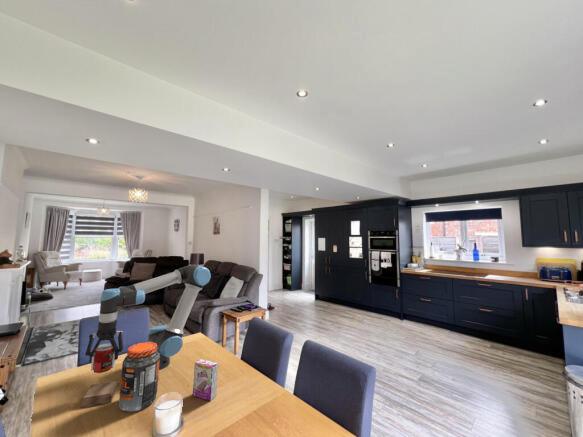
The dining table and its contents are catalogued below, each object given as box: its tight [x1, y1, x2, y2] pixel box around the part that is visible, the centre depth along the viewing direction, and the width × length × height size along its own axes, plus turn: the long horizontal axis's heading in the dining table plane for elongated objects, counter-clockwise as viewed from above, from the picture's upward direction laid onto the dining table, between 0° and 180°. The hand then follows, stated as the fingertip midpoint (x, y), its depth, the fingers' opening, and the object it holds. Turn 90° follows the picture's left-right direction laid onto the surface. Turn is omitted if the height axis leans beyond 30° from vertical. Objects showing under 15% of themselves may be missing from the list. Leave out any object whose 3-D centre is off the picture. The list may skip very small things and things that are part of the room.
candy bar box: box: [192, 358, 219, 402], centre depth 125 cm, size 11×5×16 cm, turn 71°
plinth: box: [79, 380, 120, 409], centre depth 121 cm, size 12×12×4 cm
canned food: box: [92, 342, 114, 374], centre depth 123 cm, size 8×8×11 cm
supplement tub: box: [118, 341, 160, 413], centre depth 120 cm, size 16×16×26 cm
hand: (103, 367), depth 122 cm, fingers closed on canned food, 8 cm apart
